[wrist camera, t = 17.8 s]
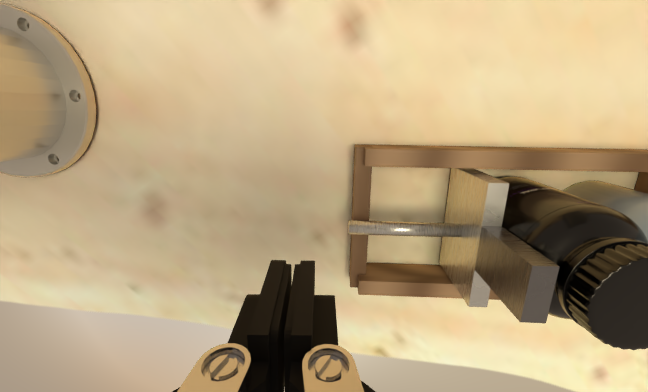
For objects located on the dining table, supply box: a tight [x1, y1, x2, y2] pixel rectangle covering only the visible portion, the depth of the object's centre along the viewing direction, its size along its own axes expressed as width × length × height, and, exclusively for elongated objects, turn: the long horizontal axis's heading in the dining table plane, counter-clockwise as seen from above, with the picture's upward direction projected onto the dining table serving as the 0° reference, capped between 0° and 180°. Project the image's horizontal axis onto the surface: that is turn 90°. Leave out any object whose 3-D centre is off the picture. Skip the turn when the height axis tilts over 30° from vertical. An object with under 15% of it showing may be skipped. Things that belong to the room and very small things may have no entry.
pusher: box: [348, 168, 560, 323], centre depth 20 cm, size 9×8×11 cm
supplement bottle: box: [498, 177, 648, 350], centre depth 19 cm, size 7×7×12 cm
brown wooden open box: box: [349, 144, 648, 300], centre depth 22 cm, size 23×11×6 cm, turn 89°
